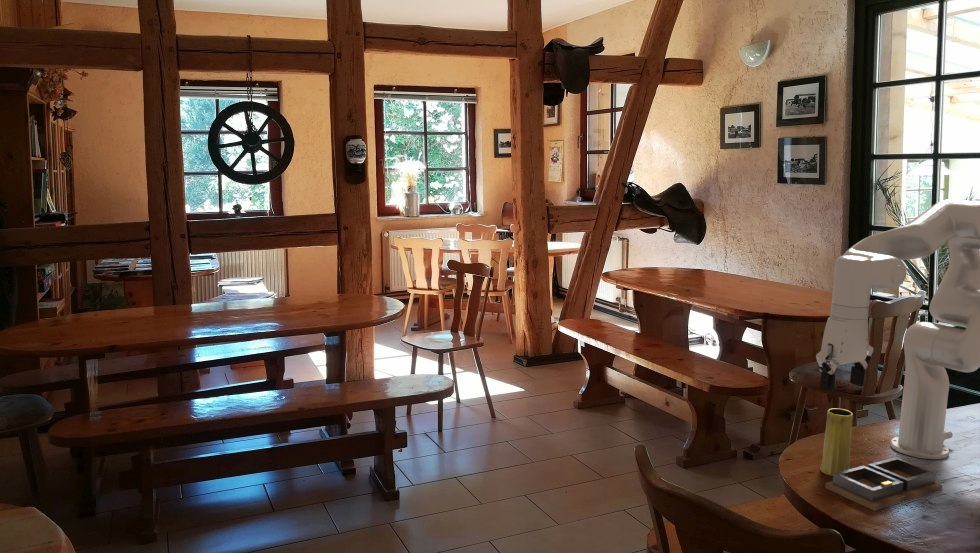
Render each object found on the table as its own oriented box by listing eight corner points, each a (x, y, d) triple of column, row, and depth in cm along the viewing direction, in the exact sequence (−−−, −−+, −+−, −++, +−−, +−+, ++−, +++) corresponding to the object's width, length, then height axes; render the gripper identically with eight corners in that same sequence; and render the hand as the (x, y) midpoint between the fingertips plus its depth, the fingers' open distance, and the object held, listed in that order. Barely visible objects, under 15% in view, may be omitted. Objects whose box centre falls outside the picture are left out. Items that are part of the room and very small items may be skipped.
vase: (852, 478, 179) (858, 417, 177) (823, 476, 181) (828, 415, 178) (845, 468, 185) (851, 408, 183) (817, 465, 187) (822, 406, 184)
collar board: (892, 469, 185) (892, 464, 184) (941, 490, 174) (942, 485, 174) (825, 488, 174) (825, 482, 174) (874, 510, 164) (874, 505, 164)
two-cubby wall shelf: (895, 467, 183) (896, 454, 183) (935, 483, 175) (936, 469, 174) (832, 484, 174) (834, 470, 173) (871, 502, 165) (873, 488, 165)
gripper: (860, 306, 184) (853, 378, 187) (807, 312, 176) (800, 387, 179) (890, 312, 177) (882, 387, 180) (836, 319, 169) (829, 397, 172)
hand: (841, 387), depth 180 cm, fingers open, 9 cm apart
